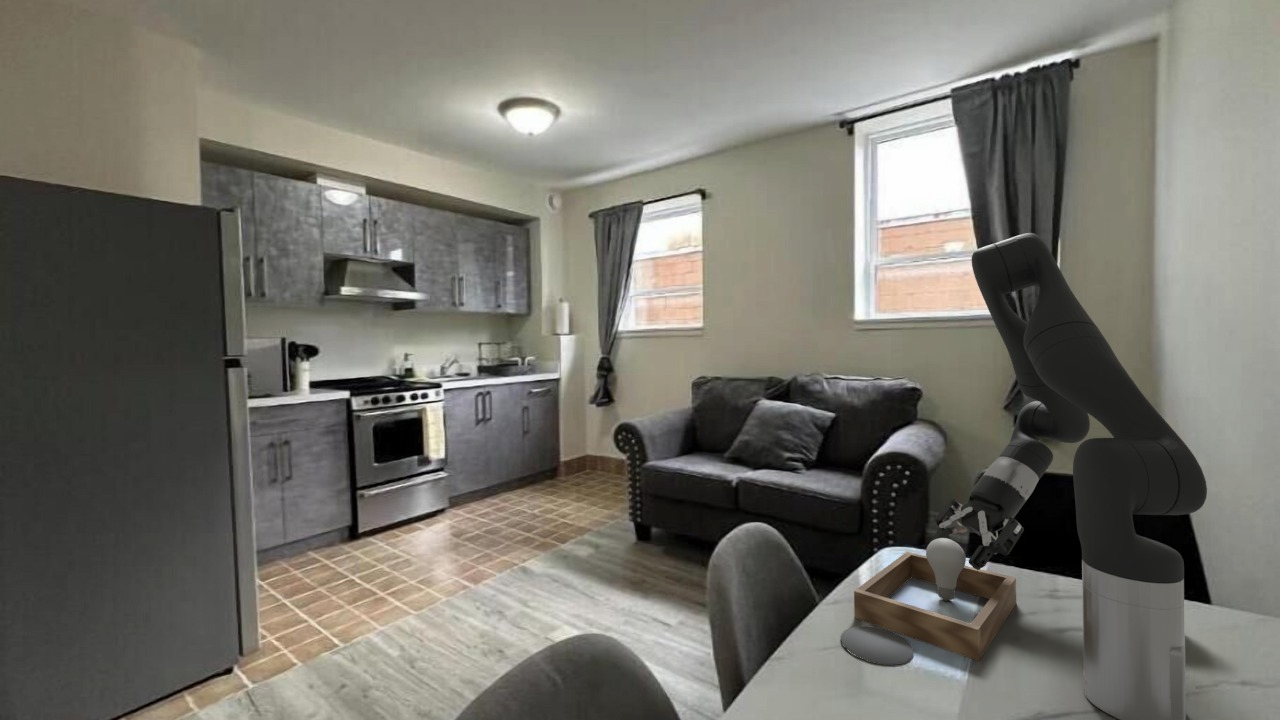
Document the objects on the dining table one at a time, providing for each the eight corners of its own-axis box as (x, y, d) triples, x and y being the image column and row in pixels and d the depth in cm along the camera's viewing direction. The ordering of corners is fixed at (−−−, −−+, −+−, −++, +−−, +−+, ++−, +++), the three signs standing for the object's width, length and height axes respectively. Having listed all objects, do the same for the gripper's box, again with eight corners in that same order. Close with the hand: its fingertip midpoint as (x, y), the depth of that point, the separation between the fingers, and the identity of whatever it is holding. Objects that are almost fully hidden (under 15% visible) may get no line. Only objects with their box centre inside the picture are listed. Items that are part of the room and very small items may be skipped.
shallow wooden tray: (1016, 603, 92) (1015, 577, 92) (978, 661, 76) (978, 629, 75) (907, 574, 105) (906, 551, 105) (854, 617, 88) (854, 591, 88)
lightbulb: (955, 593, 97) (954, 533, 96) (973, 609, 90) (972, 545, 90) (920, 592, 97) (919, 532, 97) (936, 608, 91) (935, 544, 91)
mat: (923, 645, 80) (923, 642, 80) (898, 674, 73) (898, 671, 73) (857, 622, 87) (857, 619, 87) (829, 646, 80) (829, 643, 80)
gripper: (959, 466, 103) (910, 530, 100) (1029, 483, 89) (974, 559, 87) (982, 491, 104) (934, 555, 102) (1054, 512, 90) (1001, 587, 88)
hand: (952, 557), depth 94 cm, fingers open, 8 cm apart
